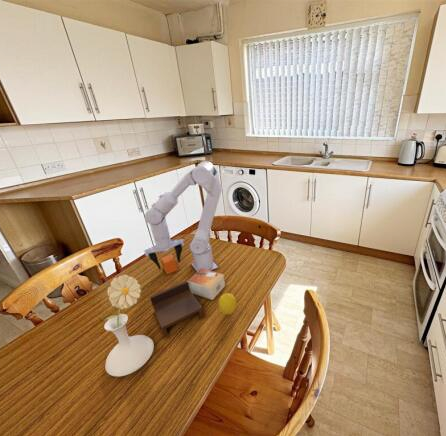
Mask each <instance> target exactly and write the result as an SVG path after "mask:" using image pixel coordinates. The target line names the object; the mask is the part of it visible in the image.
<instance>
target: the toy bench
mask: <svg viewBox="0 0 446 436" xmlns="http://www.w3.org/2000/svg"><path fill="white" fill-rule="evenodd" d="M149 299H150V303H151V305H152V308H153V311H154V314H155V317H156V319H157V321H158V324H159V326H160V329H161V331H162V333H163V337H164V338H166V337H169V333H168V330H167V329H168V328H169V327H172V326H174V325H176V324H177V323H180V322H181V321H183V320H186V319H187V318H189V317H191V316H193V315H195V314H198V317H199V318H200V319H202V318H204V317H205V316H204V312H203V307H202V306H201V304H200V302H199V301H198V299H197V298H196V297H195V294H193V293H192V292H191V290H190V289H189V285H188V282H187V280H185V281H183V282H181V283H178V284H176V285H173V286H171V287H168V288H166V289H165V290H162V291H160V292H157V293H155V294H153V295H150V296H149Z"/></svg>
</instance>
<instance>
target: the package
mask: <svg viewBox="0 0 446 436" xmlns="http://www.w3.org/2000/svg"><path fill="white" fill-rule="evenodd" d="M160 261H161V265H162V268H163V271H164V272H165V274H166V275H169V274H173V273H176V272H177V271H178V270H179V269H178V265H177V262H176V261H177V260H176V258H175V257H174V256H173V254H172V253H171V254H169V255H168V254H167V255H165V256H163V257H160Z"/></svg>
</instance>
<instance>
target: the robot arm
mask: <svg viewBox="0 0 446 436" xmlns="http://www.w3.org/2000/svg"><path fill="white" fill-rule="evenodd" d="M197 185H199V186H200V187H201V188H203V189H204V191H205V192H206V196H205V201H204V204H203V208H202V212H201V215H200V219H199V223H198V225H197V226H198V227H197V230H196V232H195V234H194V237H193V238H192V241H191V242H190V244H189V250H190V252H191V257H192V261H193V263H191V266H192V267H193V269H194V270H195V271H196V272H198V271H199V270H200V269H205V270H209V271H214V270H216V269H218V267H219V266H218V265H217V264H216V263H215V262H214V257H213V252H212V246H211V244H210V241H211V240H210V239H211V228H212V224H213V221H214V218H215V214H216V211H217V208H218V204H219V201H220V197H221V194H222V190H223V187H222V184H221V181H220V178H219V173H218V169H217V168H216V167H215V166H214V164H213V163H212V162H210V161H208V160H203V161H200V162H199V163H198V164H197V166H195V167H193V168H191V169H190V170H189V171H188V172H187V173H185V175H183V177H182V178H181V179H180V180H179V181H178V183H177V184H176V185H175V186H174V187H173V189H171V191H166V192H164V193H160V195H159V196H158V199H157V201H155V202H153V203H152V204H151V205H150V206H151V208H149V210H147V211H145V214H144V220H145V222H147V224H149V226H150V230H151V233H152V238H153V240H154V243H155V245H153V246H151V247H149V248H146V249H144V250H143V252H144V255H145V257H149V259H150V260H151V261H152V262H153V263H154V265H156V266H157V268H158V270H161V268H162V267H161V266H160V262H159V259H158V256H157V253H160V252H164V253H165V252H169V251H170V250H171V249H173V248H174V251H175V255H176V256H175V257H176V261H177V263H181V255H182V251H183V246H185V242H184V241H185V240H184V239H183V238H180V239H175V240H172V238H171V233H170V230H169V227H168V223H167V219H166V217H167V215H168V214H169V213H170V212H171V211H172V210H173V209H174V208H175V207H176V206H177V205H178V204H179V197H180V196H181V195H182V194H183V193H184V192H185V191H186V190H187V189H188V188H189V187H190V186H197Z"/></svg>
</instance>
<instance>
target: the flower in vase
mask: <svg viewBox="0 0 446 436" xmlns="http://www.w3.org/2000/svg"><path fill="white" fill-rule="evenodd" d="M138 282H139V280H138V279H136V278H134V277H133V276H129V275H128V274H123V275H119V276H118V277H114V278H112V281H110V286H108V288H107V296H108V300H109V301H110V303H111V306H112V307H115V308H118V311H117V314H114V315H111V316H108V317H106V318H105V319H104V318H103V319H102V320H103V321H106V322H105V323H104V326H103V327H104V328H103V329H104V330H106V331H107V332H111V333H113V334H114V335H115V337H116V339H117V341H118V343H117V344H116V345H115V346H114V347H113V348H112V349H111V350H110V352H109V353H108V355H107V357H106V359H105V365H104V366H105V367H104V368H105V371H106V373H107V374H108V375H110V376H112V377H126V376H128V375H132V374H133V373H135V372H136V371H138V370H140V369H141V368H142V367H143V366H144V365H145V364H147V362H148V361H149V360H150V358H151V356H152V355H153V352H154V348H155V344H154V341H153V339H152V338H150V337H149V336H147V335H145V334H135V335H131V336H129V334H128V331H127V326H126V325H127V322H128V320H129V316H128V315H127V314H125V313H121V310H124V309H130V308H132V307H133V306H134V305H136V304H137V303H138V299H139V298H141V292H142V289H141V284H139V283H138Z"/></svg>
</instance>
